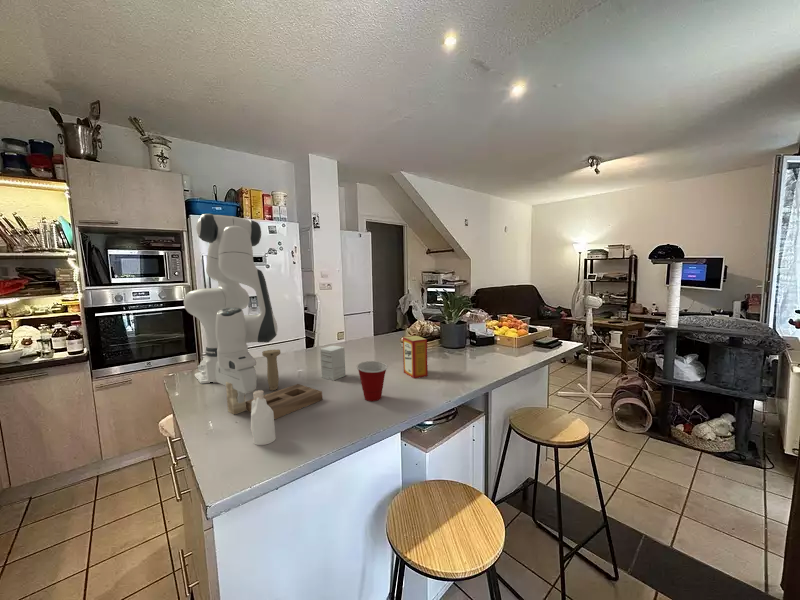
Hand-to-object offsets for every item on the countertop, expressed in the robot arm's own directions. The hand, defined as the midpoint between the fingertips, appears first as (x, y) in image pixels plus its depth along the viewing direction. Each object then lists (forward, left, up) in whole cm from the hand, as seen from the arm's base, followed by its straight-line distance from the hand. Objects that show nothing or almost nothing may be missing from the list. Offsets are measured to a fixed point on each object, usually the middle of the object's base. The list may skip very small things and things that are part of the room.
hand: (236, 400), depth 107 cm
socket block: (+9, +12, -4) cm, 15 cm away
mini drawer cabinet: (0, +41, -4) cm, 41 cm away
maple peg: (0, 0, -4) cm, 4 cm away
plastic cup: (+30, +33, -4) cm, 45 cm away
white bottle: (+18, -2, -4) cm, 19 cm away
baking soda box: (+27, +63, -4) cm, 69 cm away
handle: (-8, +18, -4) cm, 20 cm away
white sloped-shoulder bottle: (+25, -5, -4) cm, 26 cm away
